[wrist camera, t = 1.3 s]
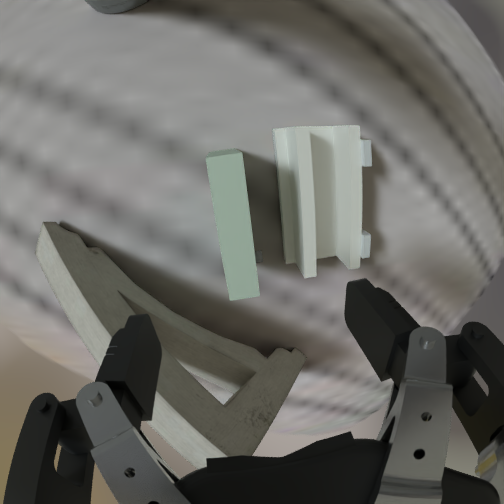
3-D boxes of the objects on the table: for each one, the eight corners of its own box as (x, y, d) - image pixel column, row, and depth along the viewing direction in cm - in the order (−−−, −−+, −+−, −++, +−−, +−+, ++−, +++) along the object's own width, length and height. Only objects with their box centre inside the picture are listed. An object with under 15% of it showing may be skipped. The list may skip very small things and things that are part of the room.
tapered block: (209, 152, 25) (205, 158, 17) (242, 147, 25) (254, 151, 17) (225, 256, 29) (229, 300, 21) (255, 251, 29) (269, 294, 22)
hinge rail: (272, 129, 24) (284, 127, 20) (347, 126, 25) (371, 125, 20) (284, 260, 30) (296, 282, 26) (349, 249, 31) (370, 268, 26)
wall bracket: (164, 226, 43) (306, 357, 35) (152, 247, 44) (287, 376, 37) (43, 221, 23) (243, 468, 15) (35, 253, 24) (214, 482, 16)
